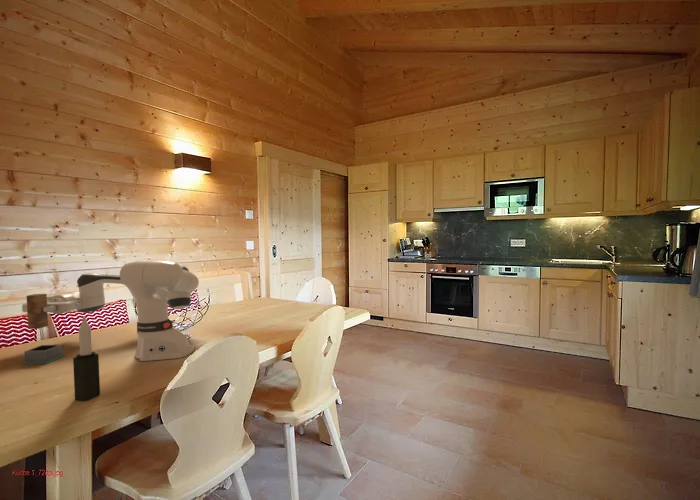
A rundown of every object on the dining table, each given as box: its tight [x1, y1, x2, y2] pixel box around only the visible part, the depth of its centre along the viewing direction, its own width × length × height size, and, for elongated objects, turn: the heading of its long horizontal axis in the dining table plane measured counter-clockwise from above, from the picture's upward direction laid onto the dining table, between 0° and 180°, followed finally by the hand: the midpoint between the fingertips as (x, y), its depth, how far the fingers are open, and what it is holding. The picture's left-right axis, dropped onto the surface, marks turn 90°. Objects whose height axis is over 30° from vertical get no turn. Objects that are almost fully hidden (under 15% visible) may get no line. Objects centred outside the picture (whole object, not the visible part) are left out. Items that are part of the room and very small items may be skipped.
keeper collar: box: [23, 344, 64, 365], centre depth 142 cm, size 9×9×5 cm
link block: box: [26, 293, 49, 330], centre depth 150 cm, size 4×4×14 cm
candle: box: [72, 316, 101, 402], centre depth 108 cm, size 5×5×25 cm
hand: (35, 310), depth 149 cm, fingers closed on link block, 4 cm apart
